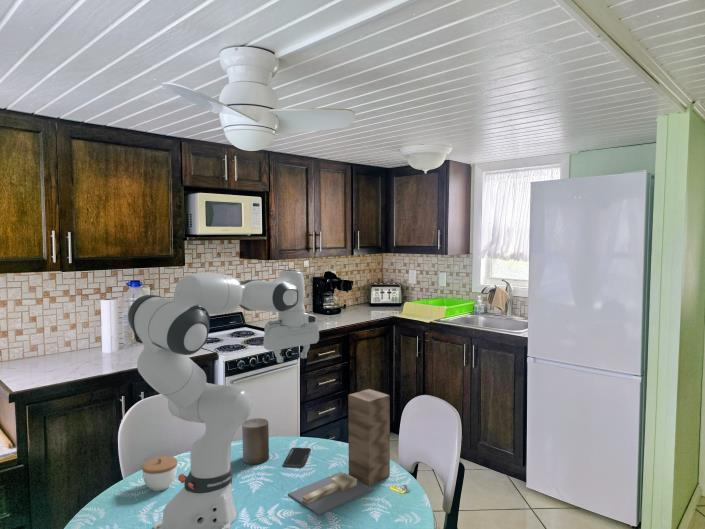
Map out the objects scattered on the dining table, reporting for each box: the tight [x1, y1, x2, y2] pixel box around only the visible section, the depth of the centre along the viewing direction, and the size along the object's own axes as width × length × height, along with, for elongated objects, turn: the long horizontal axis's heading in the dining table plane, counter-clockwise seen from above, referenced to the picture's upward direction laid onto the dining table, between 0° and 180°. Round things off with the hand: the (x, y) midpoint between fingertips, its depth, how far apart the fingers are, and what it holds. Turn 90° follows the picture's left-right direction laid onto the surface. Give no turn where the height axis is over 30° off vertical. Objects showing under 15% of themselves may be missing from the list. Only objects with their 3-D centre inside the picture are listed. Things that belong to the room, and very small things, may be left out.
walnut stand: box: [347, 388, 391, 487], centre depth 164 cm, size 10×10×28 cm
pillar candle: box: [241, 417, 270, 465], centre depth 178 cm, size 10×10×15 cm
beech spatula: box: [303, 472, 357, 504], centre depth 153 cm, size 19×6×2 cm, turn 133°
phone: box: [282, 447, 312, 468], centre depth 179 cm, size 8×1×15 cm
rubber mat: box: [287, 471, 374, 516], centre depth 153 cm, size 22×16×1 cm
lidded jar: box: [141, 455, 178, 492], centre depth 158 cm, size 11×11×9 cm
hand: (292, 360), depth 159 cm, fingers open, 8 cm apart
